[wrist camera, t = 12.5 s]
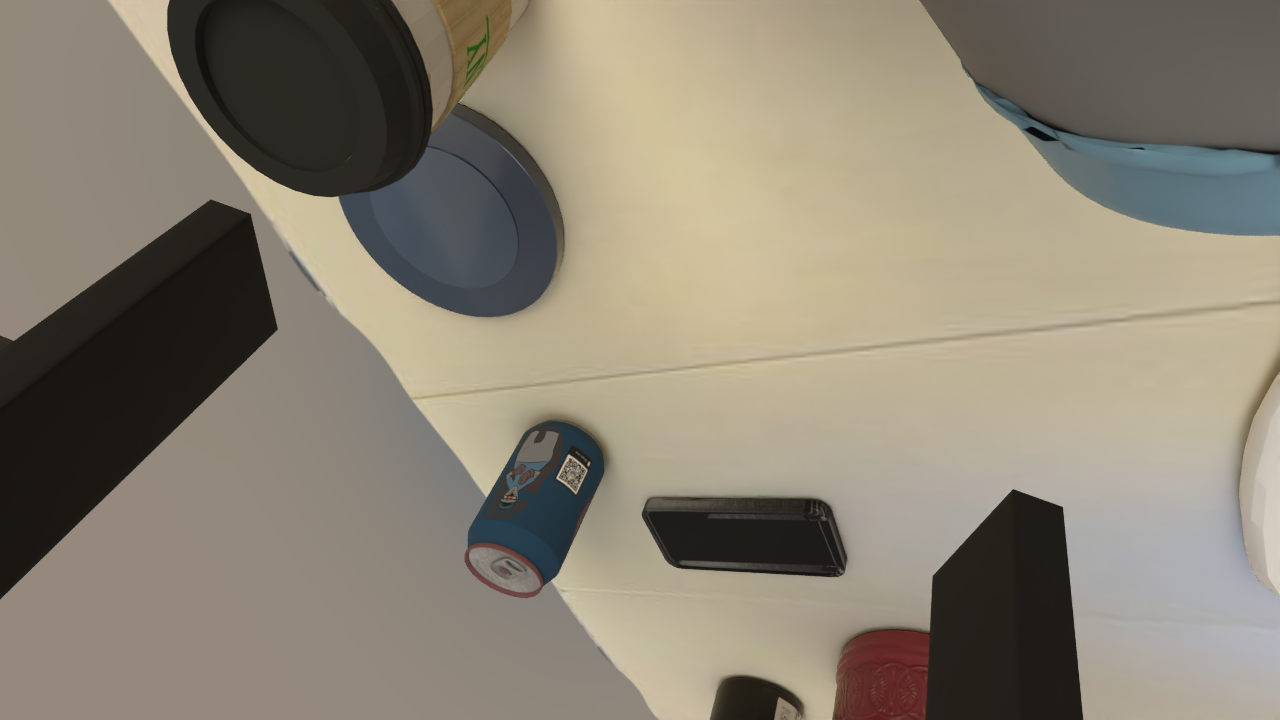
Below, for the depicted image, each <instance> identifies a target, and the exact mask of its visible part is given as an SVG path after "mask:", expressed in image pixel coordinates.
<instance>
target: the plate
mask: <svg viewBox="0 0 1280 720" xmlns="http://www.w3.org/2000/svg"><path fill="white" fill-rule="evenodd" d="M339 201H340V203H341V206H342V209H343V212H344V214H345V216H346V218H347V221H348V223H349V225H350V227H351V228H352V230H353V232H354V233H355V235H356V237H357V238H358V240H359V241H360V243H361V244H362V246H363V247H364V248H365V250H366V251H367V252H368V253H369V255H370V256H371V257H372V258H373V259H374V260H375V262H376V263H377V264H378V265H379V266H380V267H381V268H382V269H383V270H384V271H385V272H386V273H387V274H388V275H390V276H391V277H392V278H393V279H394V280H396V281H397V282H398V283H399V284H401V285H402V286H403V287H405V288H406V289H408V290H409V291H411V292H412V293H414V294H415V295H417V296H419V297H420V298H422V299H424V300H426V301H428V302H430V303H432V304H434V305H436V306H438V307H441V308H444V309H446V310H449V311H452V312H456V313H459V314H463V315H469V316H475V317H500V316H505V315H510V314H513V313H516V312H518V311H521V310H523V309H525V308H527V307H528V306H530V305H532V304H533V303H534V302H535V301H536V300H538V299H539V298H540V297H541V296H542V294H543V293H544V292H545V291H546V289H547V288H548V287H549V285H550V284H551V282H552V281H553V279H554V277H555V275H556V273H557V272H558V270H559V267H560V264H561V260H562V256H563V249H564V230H563V223H562V217H561V214H560V210H559V207H558V203H557V201H556V198H555V196H554V194H553V191H552V189H551V187H550V185H549V183H548V182H547V180H546V178H545V176H544V174H543V173H542V172H541V170H540V169H539V167H538V166H537V164H536V163H535V162H534V160H533V159H532V158H531V157H530V155H529V154H528V153H527V152H526V151H525V150H524V148H523V147H522V146H521V145H520V144H519V143H518V142H517V141H516V140H514V139H513V138H512V137H511V136H510V135H509V134H508V133H507V132H506V131H504V130H503V129H502V128H500V127H499V126H498V125H497V124H495V123H494V122H492V121H491V120H489V119H488V118H486V117H484V116H483V115H481V114H480V113H478V112H476V111H474V110H472V109H469V108H467V107H465V106H463V105H461V104H458V103H457V104H456V105H455V107H454V108H453V109H452V111H451V112H450V113H449V114H448V116H447V117H446V118H445V120H444V121H443V122H442V124H441V125H440V126H438V127H437V128H436V129H435V130H434V131H433V132H431V136H430V139H429V142H428V145H427V148H426V151H425V153H424V155H423V156H422V158H421V159H420V161H419V162H418V164H417V165H416V167H415V168H414V169H413V170H412V171H411V172H409V173H408V174H407V175H406V176H405V177H403V178H402V179H401V180H399V181H397V182H394V183H393V184H391V185H388V186H386V187H384V188H381V189H379V190H376V191H371V192H364V193H357V194H355V193H351V194H349V195H343V196H339Z"/></svg>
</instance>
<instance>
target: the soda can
mask: <svg viewBox="0 0 1280 720" xmlns="http://www.w3.org/2000/svg"><path fill="white" fill-rule="evenodd" d="M603 475H604V460H603V455H602V451H601V447H600V445H599V443H598V442H597V440H596V439H595V438H594V437H593V436H592V435H591V434H590V433H589V432H588V431H587V430H585V429H584V428H582V427H580V426H578V425H576V424H574V423H571V422H568V421H564V420H548V421H545V422H543V423H541V424H538V425H536V426H534V427H532V428H530V429H529V430H527V431H526V432H525V433H524V435H523V436H522V438H521V440H520V442H519V443H518V445H517V447H516V449H515V450H514V452H513V454H512V455H511V457H510V459H509V461H508V462H507V464H506V466H505V468H504V469H503V471H502V473H501V475H500V476H499V478H498V480H497V481H496V483H495V485H494V487H493V488H492V490H491V492H490V494H489V495H488V497H487V499H486V500H485V502H484V504H483V506H482V507H481V509H480V511H479V513H478V514H477V516H476V518H475V520H474V521H473V523H472V525H471V527H470V528H469V532H468V549H467V551H466V553H465V563H466V565H467V567H468V569H469V570H470V571H471V572H472V574H473V575H474V576H475V577H477V578H478V579H479V580H480V581H481V582H483V583H484V584H486V585H488V586H489V587H491V588H493V589H495V590H497V591H499V592H501V593H504V594H507V595H510V596H515V597H520V598H529V597H533V596H535V595H537V594H538V593H539V592H540V591H541V589H542V587H543V586H544V585H545V584H547V583H548V582H549V581H551V580H552V579H553V578H555V577H556V576H557V574H558V573H559V571H560V569H561V566H562V564H563V562H564V560H565V558H566V556H567V553H568V551H569V549H570V547H571V545H572V542H573V540H574V538H575V536H576V534H577V532H578V529H579V527H580V525H581V523H582V521H583V518H584V516H585V514H586V512H587V510H588V508H589V505H590V503H591V501H592V499H593V497H594V495H595V492H596V490H597V488H598V486H599V484H600V481H601V479H602V477H603Z"/></svg>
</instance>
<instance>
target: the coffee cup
mask: <svg viewBox="0 0 1280 720" xmlns="http://www.w3.org/2000/svg"><path fill="white" fill-rule="evenodd" d="M528 3H529V0H170V1H169V5H168V9H167V31H168V36H169V42H170V47H171V52H172V55H173V58H174V61H175V64H176V67H177V70H178V73H179V75H180V77H181V79H182V81H183V83H184V85H185V87H186V89H187V91H188V93H189V95H190V97H191V99H192V100H193V102H194V104H195V105H196V107H197V108H198V110H199V111H200V113H201V114H202V116H203V117H204V119H205V120H206V121H207V122H208V124H209V125H210V126H211V127H212V129H213V130H214V131H215V132H216V133H217V135H218V136H219V137H220V138H221V139H222V140H223V141H224V142H225V143H226V144H227V145H228V146H229V147H230V148H231V149H232V150H233V151H234V152H235V153H236V154H237V155H238V156H239V157H241V158H242V159H243V160H244V161H246V162H247V163H248V164H249V165H251V166H252V167H253V168H254V169H256V170H257V171H259V172H260V173H262V174H264V175H265V176H267V177H268V178H270V179H272V180H273V181H275V182H277V183H279V184H281V185H284V186H286V187H288V188H290V189H293V190H295V191H298V192H302V193H306V194H309V195H313V196H323V197H336V196H343V195H349V194H351V193H355V194H357V193H364V192H371V191H376V190H379V189H381V188H384V187H386V186H388V185H391V184H393V183H394V182H397V181H399V180H401V179H402V178H403V177H405V176H406V175H407V174H408V173H409V172H411V171H412V170H413V169H414V168H415V167H416V165H417V164H418V162H419V161H420V159H421V158H422V156H423V155H424V153H425V151H426V148H427V145H428V142H429V139H430V136H431V132H433V131H434V130H435V129H436V128H437V127H438V126H440V125H441V124H442V122H443V121H444V120H445V118H446V117H447V116H448V114H449V113H450V112H451V111H452V109H453V108H454V107H455V105H456V104H457V103H458V102H459V100H460V99H461V98H462V96H463V95H464V94H465V92H466V91H467V90H468V89H469V87H470V86H471V85H472V83H473V82H474V81H475V80H476V78H477V77H478V76H479V74H480V73H481V72H482V71H483V69H484V68H485V67H486V65H487V64H488V63H489V61H490V60H491V59H492V58H493V56H494V55H495V54H496V52H497V51H498V50H499V48H500V47H501V45H502V44H503V42H504V41H505V38H506V35H507V33H508V32H509V30H510V29H511V28H512V27H513V25H514V24H515V23H516V22H517V20H518V19H519V18H520V17H521V15H522V14H523V12H524V11H525V9H526V8H527V6H528Z"/></svg>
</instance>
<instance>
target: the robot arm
mask: <svg viewBox="0 0 1280 720" xmlns="http://www.w3.org/2000/svg"><path fill="white" fill-rule="evenodd" d="M920 2H921V3H922V5H923V6H924V8H925V9H926V10H927V12H928V13H929V15H930V16H931V18H932V19H933V21H934V22H935V24H936V25H937V26H938V28H939V29H940V31H941V32H942V34H943V35H944V37H945V38H946V40H947V41H948V42H949V44H950V45H951V47H952V48H953V50H954V51H955V53H956V54H957V56H958V57H959V58H960V60H961V63H962V67H963V69H964V71H965V72H966V74H967V75H968V77H970V78H972V79H973V81H974V83H975V86H976V88H977V90H978V92H979V93H980V94H981V96H982V97H983V98H984V100H985V101H986V102H987V103H988V104H989V105H990V106H991V107H992V108H993V109H994V110H995V111H996V112H997V113H999V114H1000V115H1001V116H1003V117H1004V118H1006V119H1007V120H1009V121H1010V122H1012V123H1013V124H1015V125H1016V126H1017V127H1018V128H1019V129H1020V130H1021V131H1022V133H1023V134H1024V135H1025V136H1026V137H1027V139H1028V140H1029V141H1030V142H1031V143H1032V145H1033V146H1034V147H1035V148H1036V149H1037V150H1038V152H1039V153H1040V154H1041V155H1042V156H1043V158H1044V159H1045V160H1046V161H1047V162H1048V164H1049V165H1050V166H1051V167H1052V168H1053V169H1054V171H1055V172H1056V173H1057V174H1058V175H1059V176H1061V177H1062V178H1063V179H1064V180H1065V181H1066V182H1067V183H1068V184H1069V185H1071V186H1072V187H1073V188H1074V189H1076V190H1077V191H1079V192H1080V193H1081V194H1083V195H1084V196H1086V197H1087V198H1089V199H1091V200H1093V201H1095V202H1097V203H1099V204H1100V205H1102V206H1104V207H1106V208H1108V209H1111V210H1113V211H1115V212H1118V213H1120V214H1123V215H1126V216H1129V217H1131V218H1134V219H1137V220H1141V221H1145V222H1148V223H1152V224H1156V225H1160V226H1165V227H1170V228H1176V229H1182V230H1188V231H1195V232H1203V233H1213V234H1225V235H1245V236H1278V235H1280V0H920ZM277 329H278V328H277V324H276V319H275V315H274V311H273V307H272V303H271V298H270V294H269V290H268V286H267V281H266V278H265V273H264V269H263V264H262V260H261V256H260V252H259V248H258V243H257V239H256V235H255V231H254V227H253V222H252V218H251V214H249V213H246V212H244V211H241V210H238V209H236V208H233V207H230V206H227V205H224V204H222V203H219V202H216V201H213V200H210V201H208V202H207V203H205V204H204V205H203V206H201V207H200V208H198V209H197V210H196V211H194V212H193V213H191V214H190V215H189V216H187V217H186V218H184V219H183V220H182V221H180V222H179V223H178V224H176V225H175V226H173V227H172V228H171V229H169V230H168V231H167V232H165V233H164V234H162V235H161V236H159V237H158V238H157V239H155V240H154V241H152V242H151V243H150V244H148V245H147V246H146V247H144V248H143V249H141V250H140V251H139V252H137V253H136V254H134V255H133V256H132V257H130V258H129V259H127V260H126V261H125V262H123V263H122V264H121V265H119V266H118V267H116V268H115V269H114V270H112V271H111V272H109V273H108V274H107V275H105V276H104V277H102V278H101V279H100V280H98V281H97V282H96V283H94V284H93V285H91V286H90V287H89V288H87V289H86V290H85V291H83V292H82V293H80V294H79V295H78V296H76V297H75V298H73V299H72V300H70V301H69V302H68V303H66V304H65V305H64V306H62V307H61V308H59V309H58V310H57V311H55V312H54V313H52V314H51V315H50V316H48V317H47V318H46V319H44V320H43V321H41V322H40V323H38V324H37V325H36V326H34V327H33V328H32V329H30V330H29V331H28V332H26V333H25V334H23V335H22V336H20V337H19V338H18V339H17V340H15V341H12V340H10V339H7V338H5V337H2V336H0V599H1V598H2V597H3V596H4V595H5V594H6V593H7V592H8V591H9V590H10V589H11V588H12V587H13V586H14V585H15V584H16V583H17V582H18V581H19V580H21V579H22V578H23V577H24V576H25V575H26V574H27V573H28V572H29V571H30V570H31V569H32V568H33V567H34V566H35V565H36V564H37V563H38V562H39V561H40V560H41V559H42V558H43V557H44V556H45V555H46V554H47V553H48V552H49V551H50V550H51V549H52V548H53V547H54V546H55V545H57V543H59V541H61V540H62V539H63V538H64V537H65V536H66V535H67V534H68V533H69V532H70V531H71V530H72V529H73V528H74V527H75V526H76V525H77V524H78V523H79V522H80V521H81V520H82V519H83V518H84V517H85V516H86V515H87V514H88V513H89V512H90V511H91V510H92V509H93V508H95V506H97V505H98V504H99V503H100V502H101V501H102V500H103V499H104V498H105V497H106V496H107V495H108V494H109V493H110V492H111V491H112V490H113V489H114V488H115V487H116V486H117V485H118V484H119V483H120V482H121V481H122V480H123V479H124V478H125V477H126V476H127V475H128V474H130V473H131V472H132V471H133V470H134V469H135V468H136V467H137V466H138V465H139V464H140V463H141V462H142V461H143V460H144V459H145V458H146V457H147V456H148V455H149V454H150V453H151V452H152V451H153V450H154V449H155V448H156V447H157V446H158V445H159V444H160V443H161V442H162V441H163V440H164V439H165V438H166V437H167V436H168V435H170V434H171V433H172V432H173V431H174V430H175V429H176V428H177V427H178V426H179V425H180V424H181V423H182V422H183V421H184V420H185V419H186V418H187V417H188V416H189V415H190V414H191V413H192V412H193V411H194V410H195V409H196V408H197V407H198V406H199V405H201V404H202V402H204V401H205V399H207V398H208V397H209V396H210V395H211V394H212V393H213V392H214V391H215V390H216V389H217V388H218V387H219V386H220V385H221V384H222V383H223V382H224V381H225V380H226V379H227V378H228V377H229V376H230V375H231V374H232V373H233V372H234V371H235V370H237V368H239V367H240V366H241V365H242V364H243V363H244V362H245V361H246V360H247V358H249V357H250V356H251V355H252V354H253V353H254V352H255V351H256V350H257V349H258V348H259V347H260V346H261V345H262V344H263V343H264V342H265V341H266V340H267V339H268V338H269V337H270V336H271V335H273V333H275V331H276V330H277ZM925 720H1083V713H1082V702H1081V692H1080V681H1079V671H1078V660H1077V650H1076V639H1075V629H1074V618H1073V608H1072V597H1071V587H1070V576H1069V566H1068V555H1067V545H1066V535H1065V524H1064V514H1063V507H1061V506H1058V505H1055V504H1053V503H1050V502H1047V501H1044V500H1042V499H1039V498H1036V497H1033V496H1030V495H1028V494H1025V493H1022V492H1019V491H1017V490H1014V489H1013V490H1012V491H1011V492H1010V493H1009V494H1008V495H1007V496H1006V497H1005V498H1004V500H1003V501H1002V502H1001V503H1000V504H999V505H998V506H997V507H996V508H995V509H994V510H993V511H992V513H991V514H990V515H989V516H988V517H987V518H986V519H985V520H984V521H983V522H982V523H981V524H980V526H979V527H978V528H977V529H976V530H975V531H974V532H973V533H972V534H971V535H970V536H969V537H968V539H967V540H966V541H965V542H964V543H963V544H962V545H961V546H960V547H959V548H958V549H957V550H956V552H955V553H954V554H953V555H952V556H951V557H950V558H949V559H948V560H947V561H946V562H945V563H944V565H943V566H942V567H941V568H940V569H939V570H938V571H937V572H936V573H935V574H934V575H933V582H932V602H931V621H930V641H929V660H928V680H927V699H926V719H925Z"/></svg>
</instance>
